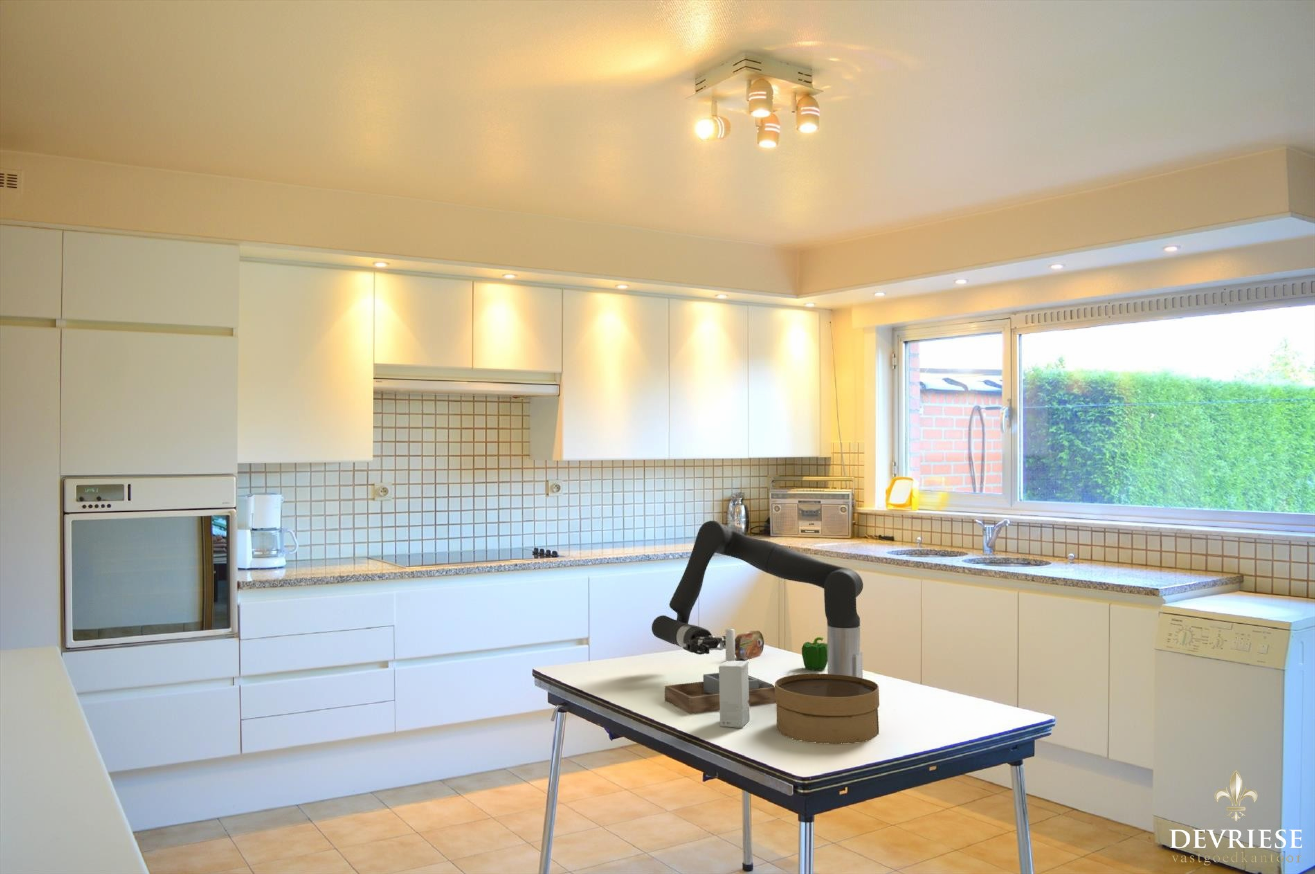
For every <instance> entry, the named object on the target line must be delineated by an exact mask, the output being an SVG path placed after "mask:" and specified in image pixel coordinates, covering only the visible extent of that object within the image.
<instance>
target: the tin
mask: <svg viewBox="0 0 1315 874" xmlns="http://www.w3.org/2000/svg"><path fill="white" fill-rule="evenodd" d="M735 639H736V641H735V643H736V644H737V650H736V651H735V658H737V659H738V660H739V661H749V660H751V659H754V658H758V657H760V656H761V655H762V653H763V652H764V647H765V645H764V644H765V641H764V635H763V634H762V632H761V631H760V630H750V631H747V632H743V633H740V634H738V635H736V636H735ZM748 659H749V660H748Z"/></svg>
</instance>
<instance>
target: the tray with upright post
mask: <svg viewBox="0 0 1315 874" xmlns="http://www.w3.org/2000/svg"><path fill="white" fill-rule="evenodd" d="M725 636H726V649H725V662H726V661H736V656H735V638H736V629H734V628H725ZM750 676H751V675H749V676H748V681H749V690H753V689H759V680H760V679H759V680H757V679H758V678H757V679H755V678H756V677H754V678H752V677H753V676H752V677H750ZM702 679H703V693H705V694H707V695H712V694H719V672H714V673H713V672H712V673H704V674H703V675H702Z"/></svg>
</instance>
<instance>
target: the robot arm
mask: <svg viewBox="0 0 1315 874" xmlns="http://www.w3.org/2000/svg"><path fill="white" fill-rule="evenodd" d="M715 554H719V555H723V556H727V557H730V558H735V559H738V560H741V561H744V562H745V563H747V564H748V565H750V566H752V567H754V568H756V569H757V570H760V571H762V572H764V573H766V574H769V575H771V576H775V577H777V578H778V579H779V578H780V579H783V580H786V581H792V582H796V583H797V582H798V583H804V584H810V585H813V586H816V587H819V588H822V589H823V597H824V598H823V599H824V601H823V602H824V603H823V604H824V614H825V615H824V616H825V618H826V623H827V624H826V625H827V626H826V629H827V631H826V632H827V633H826V636H827V638H826V639H827V640H826V641H827V643H826V644H827V674H838V675H847V676H854V677H859V678H863V679H864V677H863V676H864V675H863V673H864V671H863V669H864V668H863V667H864V666H863V665H864V664H863V660H864V659H863V652H862V651H861V619H860V618H861V617H860V615H859V614H858V611H857V597H858V596H859V595H861V593H862V592H863V589H864V582H863V579H862V577H861V575H859V573H858V572H857V571H856V570H853V569H851V568H848V567H845V566H839V565H835V564H832V563H828V562H824V561H821V560H818V559H816V558H814V557H812V556H809V555H807V554H805V553H803V552H800V551H797V550H796V549H792V548H790V547H787V546H785V545H782V544H780V543H776V542H773V541H768V540H764V539H758V538H753V537H750V536H747V535H745V534H743V533H741V532H738V531H736V530H735V529H733V528H731V527H730V526H727V525H726V524H724V523H722V522H719V521H716V520H708V521H706V522H704V523H703V524H702V525H701V526H700V528H699V529H698V532H697V534H696V537H695V541H694V543H693V547H692V550H691V554H690V556H689V559H688V562H687V564H686V567H685V569H684V572H683V574H682V576H681V578H680V581H679V582H678V584H677V587H676V588H675V591H674V592H673V595H672V597H671V598H670V600H669V603H668V605H669V608H670V609H671V610H672V611H674V612H675V613H676V619H674V618H672V617H670V616H667V615H659V616H657V617H656V618H655V619H654V620H653V622H652V623H651V631H652V634H653V635H654V637H655V638H657V639H659V640H661V641H664V642H666V643H669V644H671V645H674V646H675V645H676V646H677V647H680V648H682V649H683V650H685V651H687V652H689V653H692V654H693V653H694V654H696V655H698V656H699V655H704V654H706V655H710V651H723V650H726V635H723V636H715V635H712V633H711V631H710V630H708V629H707V628H705V627H701V626H699V625H695V624H690V623H689V620H690V617H691V613H692V611H693V609H694V606H695V604H696V602H697V600H698V599H699V596H700V594H701V590H702V587H703V582H704V579H705V574H706V571H707V568H708V566H709V563H710V562H711V559H712V558H713V556H714V555H715ZM735 641H736V639H735ZM736 650H737V644H736V643H735V651H736Z"/></svg>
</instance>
